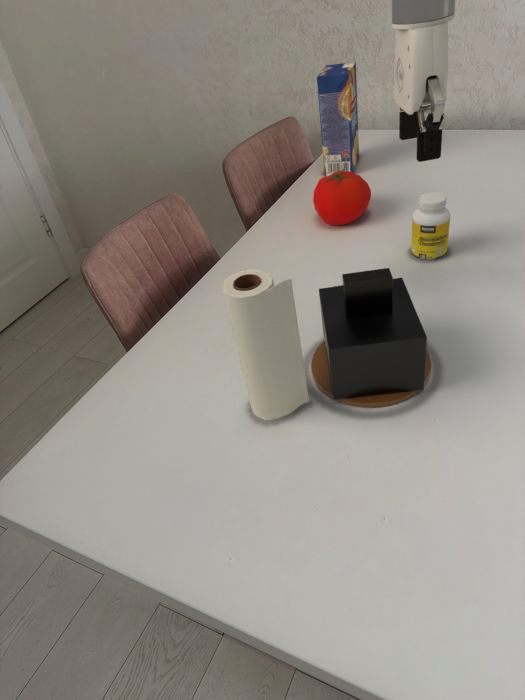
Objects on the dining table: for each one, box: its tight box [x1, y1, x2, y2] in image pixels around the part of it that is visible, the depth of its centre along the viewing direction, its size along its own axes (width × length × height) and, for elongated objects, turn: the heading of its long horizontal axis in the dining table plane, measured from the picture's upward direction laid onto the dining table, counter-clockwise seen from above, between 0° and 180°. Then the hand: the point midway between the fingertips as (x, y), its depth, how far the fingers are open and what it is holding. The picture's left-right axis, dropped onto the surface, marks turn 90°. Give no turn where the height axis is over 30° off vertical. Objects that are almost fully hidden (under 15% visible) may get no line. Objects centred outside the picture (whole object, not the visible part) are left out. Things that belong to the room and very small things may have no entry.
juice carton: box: [316, 61, 360, 177], centre depth 128 cm, size 12×8×24 cm, turn 163°
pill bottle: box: [410, 191, 451, 262], centre depth 91 cm, size 6×6×12 cm
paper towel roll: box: [221, 268, 310, 421], centre depth 63 cm, size 7×6×21 cm
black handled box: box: [310, 267, 432, 409], centre depth 68 cm, size 17×17×15 cm
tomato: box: [312, 168, 372, 227], centre depth 108 cm, size 13×12×11 cm
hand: (418, 148), depth 73 cm, fingers open, 9 cm apart
